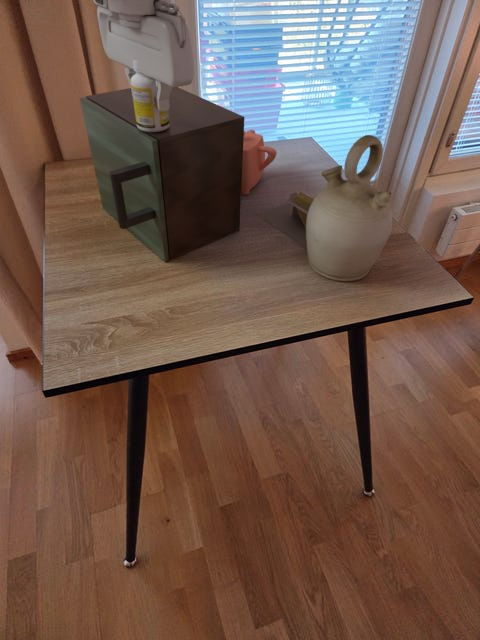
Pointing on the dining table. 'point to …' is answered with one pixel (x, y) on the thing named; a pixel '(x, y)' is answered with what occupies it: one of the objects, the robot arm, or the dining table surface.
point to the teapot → (254, 159)
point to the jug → (349, 217)
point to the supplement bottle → (147, 103)
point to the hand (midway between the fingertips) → (150, 103)
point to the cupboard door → (128, 176)
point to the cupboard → (193, 166)
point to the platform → (290, 217)
